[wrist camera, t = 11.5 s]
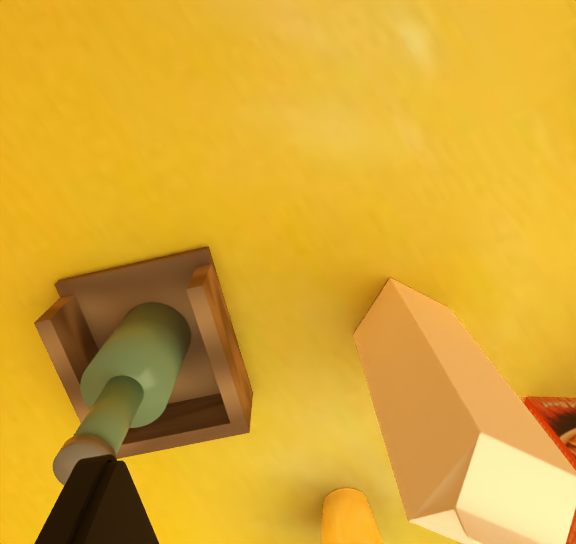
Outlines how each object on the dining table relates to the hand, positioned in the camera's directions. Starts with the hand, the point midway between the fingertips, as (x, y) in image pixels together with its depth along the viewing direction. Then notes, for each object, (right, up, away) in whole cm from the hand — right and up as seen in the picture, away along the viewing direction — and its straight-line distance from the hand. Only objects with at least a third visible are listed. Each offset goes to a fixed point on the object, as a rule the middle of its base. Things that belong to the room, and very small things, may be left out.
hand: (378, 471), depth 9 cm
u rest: (-12, -2, +32) cm, 34 cm away
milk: (+8, 0, +32) cm, 33 cm away
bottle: (-12, -1, +30) cm, 33 cm away
